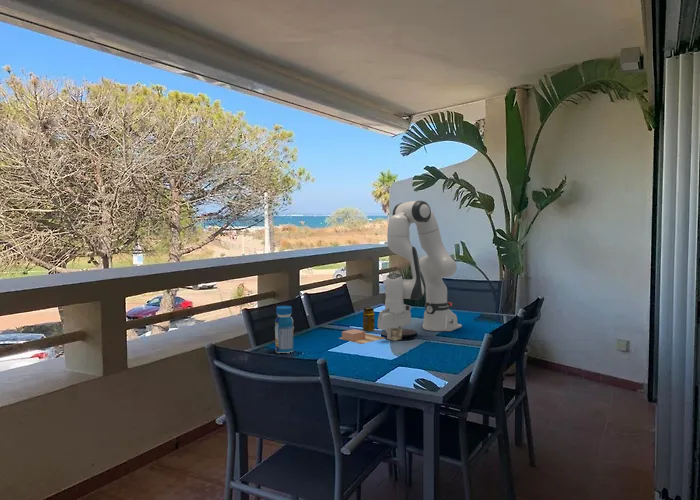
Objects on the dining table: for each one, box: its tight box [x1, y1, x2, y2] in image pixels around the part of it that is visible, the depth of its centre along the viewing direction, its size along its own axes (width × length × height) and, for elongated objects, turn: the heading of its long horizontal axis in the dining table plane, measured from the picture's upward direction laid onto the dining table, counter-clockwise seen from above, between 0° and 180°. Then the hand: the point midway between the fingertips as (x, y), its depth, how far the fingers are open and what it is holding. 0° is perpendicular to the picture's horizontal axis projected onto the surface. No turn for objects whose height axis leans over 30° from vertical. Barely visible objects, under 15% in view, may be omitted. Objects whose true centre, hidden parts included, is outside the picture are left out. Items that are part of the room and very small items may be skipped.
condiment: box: [362, 306, 378, 332], centre depth 257 cm, size 7×8×12 cm
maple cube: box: [386, 327, 403, 341], centre depth 237 cm, size 5×5×5 cm
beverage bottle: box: [274, 305, 295, 354], centre depth 217 cm, size 8×8×20 cm
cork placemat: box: [339, 332, 386, 345], centre depth 240 cm, size 17×16×1 cm
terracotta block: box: [341, 328, 366, 342], centre depth 238 cm, size 8×8×4 cm
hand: (394, 336), depth 237 cm, fingers closed on maple cube, 5 cm apart
